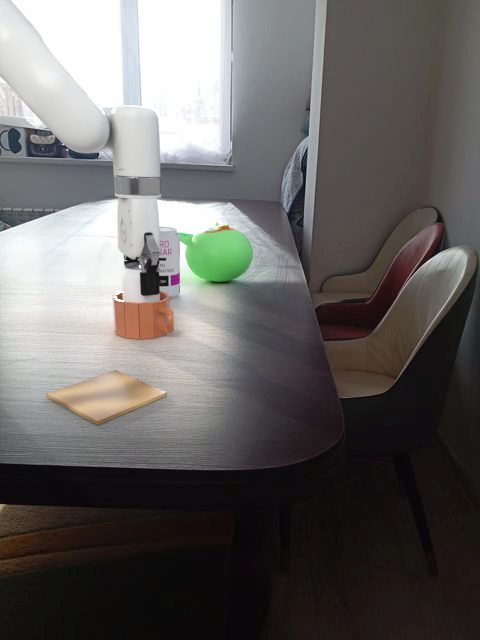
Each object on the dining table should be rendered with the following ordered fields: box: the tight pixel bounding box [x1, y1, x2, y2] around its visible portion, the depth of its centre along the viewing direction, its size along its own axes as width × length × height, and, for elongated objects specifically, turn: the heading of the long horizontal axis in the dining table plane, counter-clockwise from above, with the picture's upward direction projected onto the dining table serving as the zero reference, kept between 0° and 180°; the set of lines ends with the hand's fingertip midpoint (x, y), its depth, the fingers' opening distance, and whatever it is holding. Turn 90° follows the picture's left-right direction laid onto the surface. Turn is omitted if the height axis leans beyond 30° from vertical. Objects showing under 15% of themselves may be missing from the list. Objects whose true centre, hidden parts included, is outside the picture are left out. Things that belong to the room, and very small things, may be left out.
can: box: [121, 262, 160, 303], centre depth 92 cm, size 6×6×12 cm
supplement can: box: [145, 226, 181, 300], centre depth 115 cm, size 8×8×15 cm
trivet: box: [46, 369, 168, 426], centre depth 68 cm, size 11×11×1 cm
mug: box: [111, 291, 175, 340], centre depth 92 cm, size 13×10×6 cm
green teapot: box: [177, 221, 254, 283], centre depth 132 cm, size 18×17×15 cm
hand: (141, 288), depth 92 cm, fingers open, 9 cm apart
